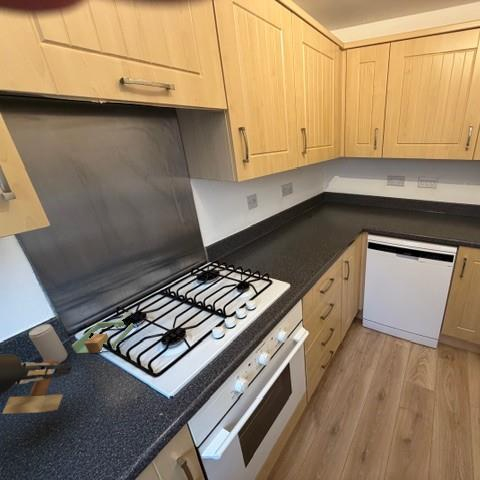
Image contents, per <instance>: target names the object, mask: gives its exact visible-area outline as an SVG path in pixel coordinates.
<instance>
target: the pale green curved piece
mask: <svg viewBox="0 0 480 480" xmlns="http://www.w3.org/2000/svg"><path fill="white" fill-rule="evenodd" d="M131 313H133V314H134V311H133V310H129V311H127V312H126V313H125V314H124V315H123V316H122V317H120V319H118V321H100V322H97V323H95V324H94V325H93V326H92V327H91V328H90V329H89V330H87V332H85V333H84V334H83V335H82V336H80V338H78V339H77V340H75V342H74V343H72V344H71V347H72V349H73V351H74V353H75V354H90V353H89V352H88V350H87V348H86V346H85V344H84V343H85V342H86V341H87V340H88V338H89V336H90V334H91V333H93V332H95V331H97V330H98V329H100V328H105V327H109V326H112V325H114V326H115V327H116V328H118V327H121V326H124V322H123V321H122V320H123V319H125V318H126V317H127V316H129V315H130V314H131ZM133 325H134V324H133V323H131V324H130V325H129V326H128V327H127V328H126V329H125V331H124V332H123V333H122V334H121V335H120V336H119V337H118V338H117V339H116V340H115V341H114V342H113V343H112V346H113V348H115V346H116V344H117V343H118V342H120V341H121V340H122V339H123V338H124V337H125V336H126V335H127V334H128V333H129V332H130V331H131V330H132V329H133Z"/></svg>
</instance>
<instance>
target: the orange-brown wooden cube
mask: <svg viewBox="0 0 480 480" xmlns="http://www.w3.org/2000/svg"><path fill="white" fill-rule="evenodd" d="M108 338H109V337H108V335H107V333H106V334H94V335H93V336H92V337H91V338H90V339H88V340H87V341H86V342H85V343H84V344H85V346H86V348H87V350H88V352H89V353H88V354H97V353H99V352H100V351H101V350H102V346H103V344H104V343H106V342H107V339H108Z"/></svg>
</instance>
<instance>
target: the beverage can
mask: <svg viewBox="0 0 480 480" xmlns="http://www.w3.org/2000/svg"><path fill="white" fill-rule="evenodd" d="M28 337H29V339H30V341H31V342H32V344H33V345H34V347H35V348H36V350H37V351H38V353H39V354H40V356H41V358H42V359H43V361H44V360H58V363H57V364H63V362H64V361H66V360H67V359H68V355H69V354H68V351H67V350H66V349H65V346H64V345H63V342H62V341H61V339H60V338H59V335H58V334H57V332H56V330H55V329H54V327H53V326H52V325H51V324H50V323H45V324H42V325H41V324H40V325H39V326H36V327H35V328H33V329H31V330H30V331H29V332H28Z"/></svg>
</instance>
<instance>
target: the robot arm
mask: <svg viewBox="0 0 480 480" xmlns="http://www.w3.org/2000/svg"><path fill="white" fill-rule="evenodd" d="M72 369H73V363H60V364H55V365H50V363H42V362H35V361H33V362H32V361H31V362H30V361H29V362H21V359H20V358H19V356H17V355H15V354H12V353H0V396H1V395H3V394H5V393H6V392H7V391H9V390H10V389H11V388H12V387H13V386H14V385H23V384H28V383H30V382H35V381H38V380H44V379H49V378H52V379H53V378H60V377H62V375H70V374H71V372H72Z"/></svg>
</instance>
